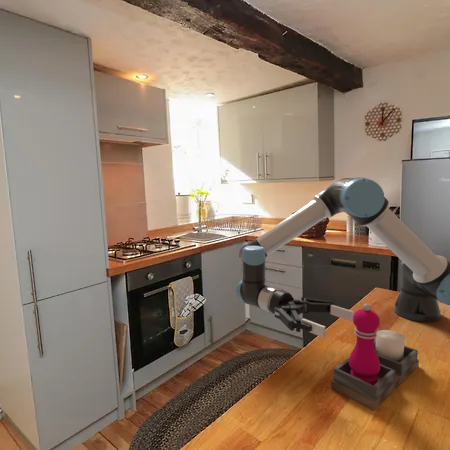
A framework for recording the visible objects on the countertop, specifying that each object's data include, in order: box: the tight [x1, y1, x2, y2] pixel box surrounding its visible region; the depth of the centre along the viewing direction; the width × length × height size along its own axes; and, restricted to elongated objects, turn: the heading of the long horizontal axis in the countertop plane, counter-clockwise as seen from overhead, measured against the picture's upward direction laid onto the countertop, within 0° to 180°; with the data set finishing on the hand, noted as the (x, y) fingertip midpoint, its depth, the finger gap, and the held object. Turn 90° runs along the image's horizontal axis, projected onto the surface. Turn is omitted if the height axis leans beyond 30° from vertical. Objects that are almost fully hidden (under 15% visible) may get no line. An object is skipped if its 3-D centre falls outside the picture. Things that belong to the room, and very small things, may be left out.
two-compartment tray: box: [330, 338, 420, 411], centre depth 87 cm, size 26×11×5 cm, turn 130°
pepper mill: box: [348, 303, 381, 385], centre depth 81 cm, size 7×7×20 cm
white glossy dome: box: [375, 329, 406, 363], centre depth 91 cm, size 7×7×7 cm
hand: (339, 323), depth 86 cm, fingers open, 13 cm apart
